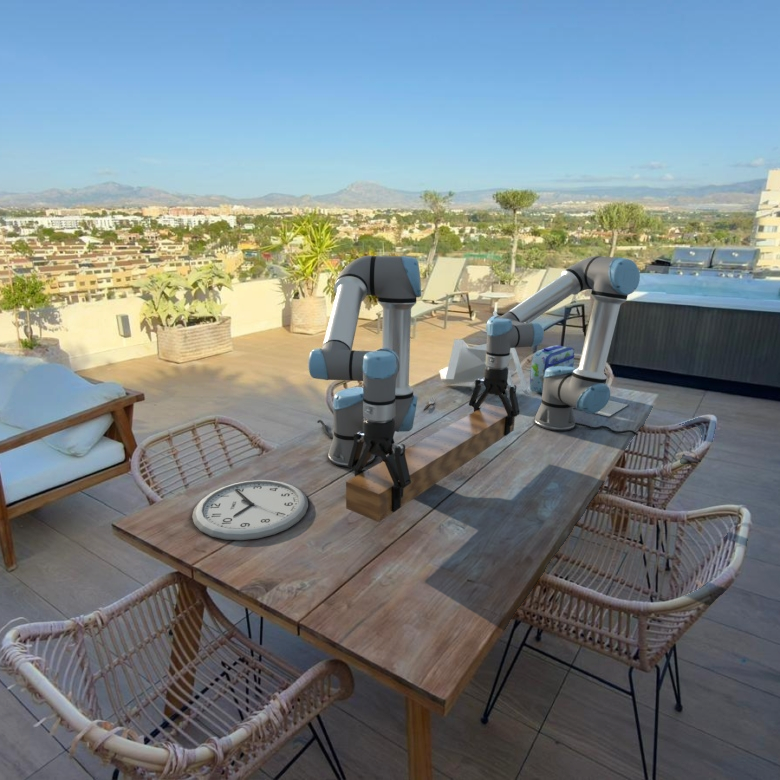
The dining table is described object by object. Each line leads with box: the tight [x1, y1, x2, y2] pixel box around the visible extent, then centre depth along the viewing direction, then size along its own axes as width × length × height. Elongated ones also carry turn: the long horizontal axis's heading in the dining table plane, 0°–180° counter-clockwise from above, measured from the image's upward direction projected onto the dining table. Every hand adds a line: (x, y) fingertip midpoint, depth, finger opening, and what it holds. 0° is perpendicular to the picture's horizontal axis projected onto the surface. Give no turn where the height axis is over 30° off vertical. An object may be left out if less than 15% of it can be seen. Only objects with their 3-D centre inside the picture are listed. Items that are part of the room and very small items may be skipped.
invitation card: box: [595, 399, 629, 418], centre depth 226 cm, size 21×1×15 cm
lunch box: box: [529, 345, 575, 394], centre depth 245 cm, size 26×11×21 cm, turn 134°
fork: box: [422, 395, 437, 412], centre depth 223 cm, size 3×16×2 cm, turn 160°
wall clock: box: [191, 479, 309, 541], centre depth 140 cm, size 30×2×30 cm
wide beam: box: [345, 403, 516, 523], centre depth 152 cm, size 75×10×7 cm, turn 143°
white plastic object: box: [438, 310, 531, 397], centre depth 245 cm, size 37×45×31 cm
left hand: (378, 502), depth 129 cm, fingers closed on wide beam, 10 cm apart
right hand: (492, 430), depth 177 cm, fingers closed on wide beam, 10 cm apart
